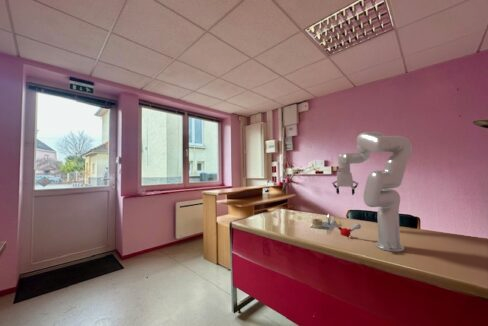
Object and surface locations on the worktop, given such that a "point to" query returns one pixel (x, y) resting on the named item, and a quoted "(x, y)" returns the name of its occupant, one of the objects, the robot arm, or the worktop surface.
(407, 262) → the worktop surface
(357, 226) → the molecular model
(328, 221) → the needle post
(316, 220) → the bead
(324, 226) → the lacing board
